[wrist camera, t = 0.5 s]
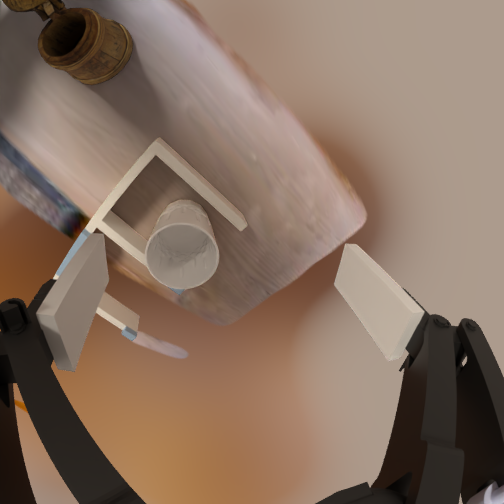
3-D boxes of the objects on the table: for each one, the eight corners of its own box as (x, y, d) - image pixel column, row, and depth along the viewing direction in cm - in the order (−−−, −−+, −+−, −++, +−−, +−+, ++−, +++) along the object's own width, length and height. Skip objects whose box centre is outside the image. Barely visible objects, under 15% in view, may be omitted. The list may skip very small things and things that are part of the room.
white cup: (143, 217, 37) (129, 251, 28) (190, 182, 36) (189, 207, 27) (178, 258, 41) (176, 301, 32) (224, 228, 40) (233, 264, 31)
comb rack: (61, 266, 37) (49, 284, 33) (159, 137, 32) (153, 141, 28) (136, 320, 44) (132, 341, 40) (242, 214, 39) (249, 229, 35)
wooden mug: (107, -12, 21) (58, -73, 5) (143, 59, 27) (98, 18, 12) (51, 25, 21) (-25, -6, 5) (82, 97, 28) (2, 96, 12)
